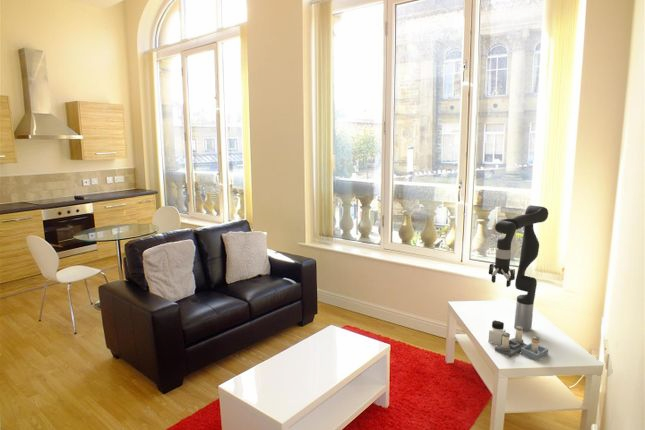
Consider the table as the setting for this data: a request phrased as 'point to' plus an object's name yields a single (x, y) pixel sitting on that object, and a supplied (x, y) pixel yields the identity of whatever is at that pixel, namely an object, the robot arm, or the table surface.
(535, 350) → the marked fuse
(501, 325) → the medicine bottle
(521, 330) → the fuse holder
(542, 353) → the tray
